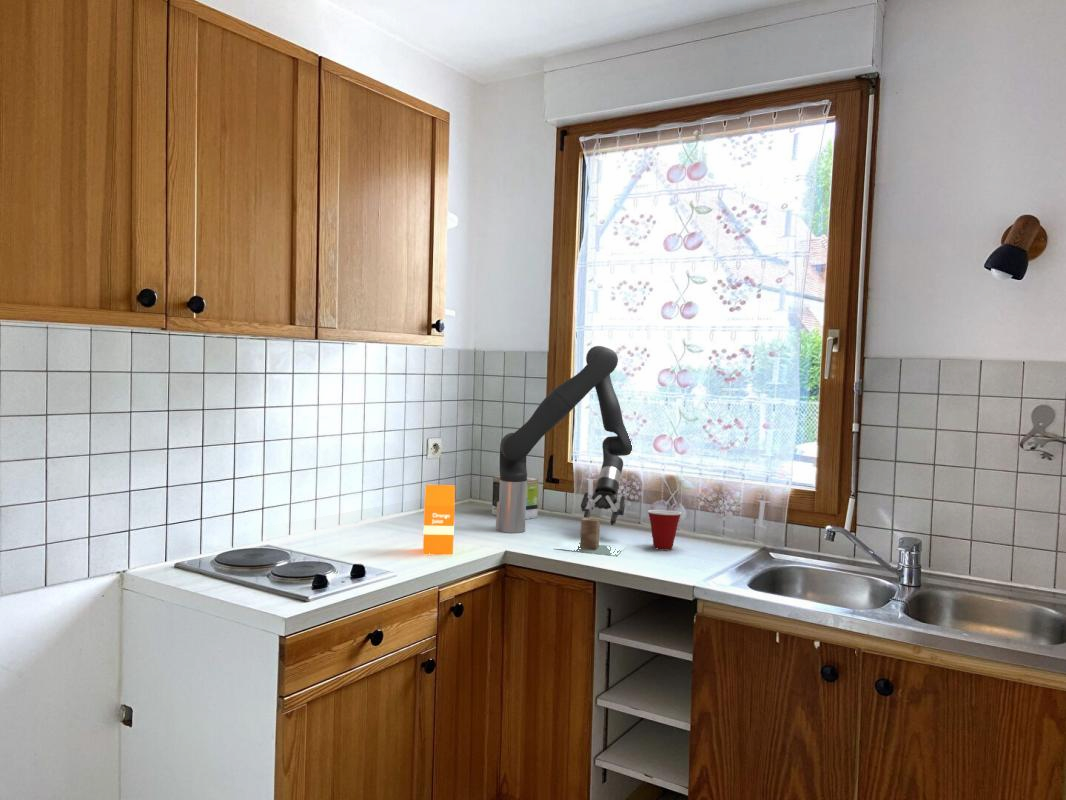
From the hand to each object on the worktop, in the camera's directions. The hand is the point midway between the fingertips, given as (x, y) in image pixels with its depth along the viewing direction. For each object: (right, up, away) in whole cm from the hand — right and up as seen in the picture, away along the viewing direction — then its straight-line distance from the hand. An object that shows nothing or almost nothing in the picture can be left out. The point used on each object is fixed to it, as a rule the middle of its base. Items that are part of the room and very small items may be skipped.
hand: (599, 522), depth 255 cm
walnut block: (-4, -6, -11) cm, 13 cm away
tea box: (-29, -4, +38) cm, 48 cm away
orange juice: (-50, -6, -22) cm, 55 cm away
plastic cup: (+20, -7, -6) cm, 22 cm away
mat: (-4, -7, -11) cm, 13 cm away
